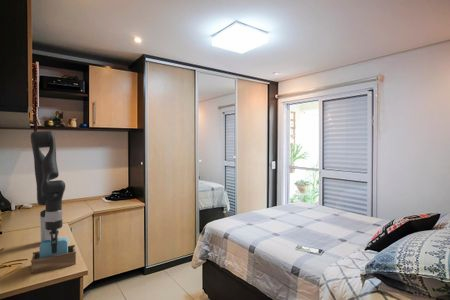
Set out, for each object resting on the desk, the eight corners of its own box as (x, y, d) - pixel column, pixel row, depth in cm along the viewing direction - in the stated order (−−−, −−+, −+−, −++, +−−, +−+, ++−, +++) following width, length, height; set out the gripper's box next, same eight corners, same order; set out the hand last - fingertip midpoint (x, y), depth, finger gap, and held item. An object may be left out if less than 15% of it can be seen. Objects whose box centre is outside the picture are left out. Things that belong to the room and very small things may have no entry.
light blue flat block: (68, 259, 142) (67, 236, 142) (67, 262, 138) (67, 239, 138) (41, 263, 137) (40, 240, 136) (39, 267, 133) (39, 243, 132)
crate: (32, 264, 137) (32, 252, 137) (74, 256, 147) (74, 244, 147) (31, 273, 127) (30, 260, 127) (76, 264, 137) (76, 252, 137)
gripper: (45, 217, 141) (46, 247, 141) (44, 223, 129) (45, 256, 129) (62, 215, 145) (62, 244, 145) (62, 221, 133) (63, 253, 133)
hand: (54, 250), depth 137 cm, fingers open, 8 cm apart
